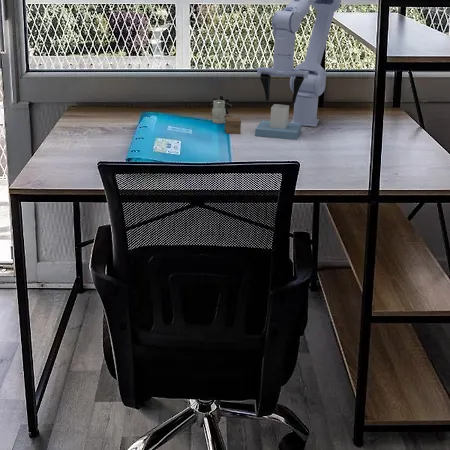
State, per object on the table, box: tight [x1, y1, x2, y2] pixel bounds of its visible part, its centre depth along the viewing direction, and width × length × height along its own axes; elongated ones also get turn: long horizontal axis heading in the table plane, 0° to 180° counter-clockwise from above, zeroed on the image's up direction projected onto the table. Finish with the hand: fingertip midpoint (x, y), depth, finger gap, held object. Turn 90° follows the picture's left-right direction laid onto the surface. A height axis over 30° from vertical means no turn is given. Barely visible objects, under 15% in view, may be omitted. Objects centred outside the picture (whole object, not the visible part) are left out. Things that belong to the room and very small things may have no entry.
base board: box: [254, 120, 302, 140], centre depth 243 cm, size 12×12×2 cm
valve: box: [210, 94, 233, 124], centre depth 256 cm, size 7×7×12 cm
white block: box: [269, 103, 290, 129], centre depth 242 cm, size 4×4×6 cm
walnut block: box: [224, 116, 242, 135], centre depth 241 cm, size 4×4×4 cm
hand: (280, 101), depth 240 cm, fingers open, 7 cm apart
